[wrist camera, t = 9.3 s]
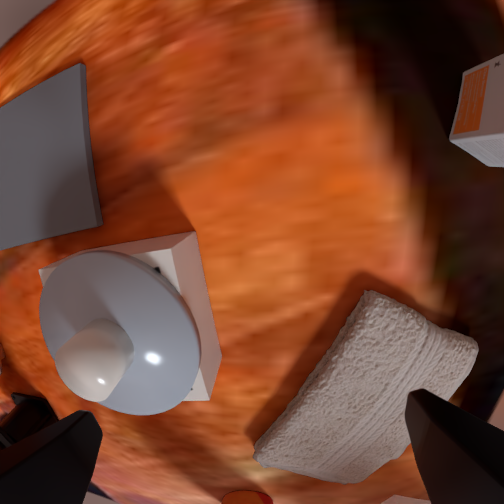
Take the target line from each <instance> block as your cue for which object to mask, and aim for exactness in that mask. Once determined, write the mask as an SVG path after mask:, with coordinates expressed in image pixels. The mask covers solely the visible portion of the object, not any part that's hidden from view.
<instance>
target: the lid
mask: <svg viewBox="0 0 504 504" xmlns="http://www.w3.org/2000/svg"><path fill="white" fill-rule="evenodd" d="M39 313H40V324H41V329H42V333H43V337H44V340H45V342H46V345H47V347H48V350H49V352H50V354H51V356H52V357H53V359H54V361H55V365H56V369H57V371H58V374H59V376H60V377H61V379H62V380H63V382H64V383H65V384H66V385H67V387H68V388H69V389H70V390H72V391H73V392H74V393H75V394H77V395H78V396H80V397H82V398H84V399H86V400H89V401H94V402H98V403H99V404H101V405H103V406H105V407H108V408H110V409H113V410H115V411H118V412H122V413H126V414H133V415H152V414H158V413H162V412H165V411H167V410H169V409H172V408H173V407H175V406H176V405H178V404H179V403H180V402H181V401H182V400H183V399H184V398H185V397H186V396H187V395H188V393H189V392H190V390H191V388H192V386H193V384H194V382H195V379H196V376H197V374H198V371H199V367H200V363H201V354H202V352H201V340H200V335H199V330H198V327H197V324H196V321H195V319H194V317H193V315H192V312H191V310H190V308H189V307H188V305H187V303H186V302H185V300H184V299H183V297H182V296H181V295H180V293H179V292H178V291H177V289H176V288H175V287H174V286H173V285H172V284H171V283H170V282H169V281H168V280H167V279H166V278H165V277H164V276H163V275H162V274H160V273H159V272H158V271H157V270H156V269H154V268H153V267H151V266H150V265H148V264H147V263H145V262H143V261H141V260H139V259H137V258H135V257H133V256H130V255H127V254H125V253H121V252H116V251H112V250H94V251H89V252H85V253H82V254H79V255H77V256H75V257H73V258H71V259H69V260H67V261H65V262H63V263H62V264H60V265H59V266H58V267H56V268H55V270H54V271H53V272H52V273H51V274H50V276H49V277H48V279H47V280H46V282H45V285H44V287H43V290H42V294H41V298H40V306H39Z"/></svg>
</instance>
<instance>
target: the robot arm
mask: <svg viewBox="0 0 504 504" xmlns="http://www.w3.org/2000/svg"><path fill="white" fill-rule="evenodd" d="M11 397H12V399H13V400H14V402H15V404H16V406H15V407H14V409H13V410H12V411H11V412H10V413H9V414H8V415H7V416H6V417H5V418H4V419H3V420H2V421H1V422H0V504H82V503H83V501H84V498H85V495H86V492H87V489H88V487H89V484H90V481H91V478H92V475H93V472H94V468H95V464H96V460H97V456H98V452H99V448H100V445H101V441H102V437H103V433H102V430H101V428H100V426H99V424H98V422H97V420H96V419H95V417H94V415H93V413H91V412H90V411H85V410H78V411H76V412H74V413H72V414H71V415H69V416H67V417H65V418H63V419H61V420H60V421H58V420H57V418H56V416H55V414H54V413H53V411H52V409H51V407H50V405H49V404H48V402H47V401H46V400H45V399H42V398H37V397H32V396H28V395H23V394H19V393H14V392H13V393H12V394H11ZM405 422H406V426H407V429H408V433H409V437H410V441H411V444H412V448H413V452H414V456H415V460H416V464H417V467H418V470H419V472H420V475H421V478H422V480H423V483H424V485H425V488H426V491H427V493H428V496H429V499H430V502H431V504H504V431H503V430H501V429H499V428H497V427H495V426H493V425H491V424H489V423H487V422H485V421H483V420H481V419H480V418H478V417H476V416H474V415H472V414H470V413H468V412H466V411H465V410H463V409H461V408H459V407H457V406H455V405H453V404H452V403H450V402H448V401H446V400H444V399H442V398H441V397H439V396H437V395H435V394H433V393H432V392H430V391H428V390H426V389H424V388H420V389H417V390H413V391H410V392H409V394H408V396H407V403H406V409H405Z"/></svg>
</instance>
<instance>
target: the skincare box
mask: <svg viewBox="0 0 504 504" xmlns="http://www.w3.org/2000/svg"><path fill="white" fill-rule="evenodd" d="M449 140H450V141H451V142H452V143H454V144H456V145H457V146H459V147H461V148H462V149H464V150H465V151H467V152H468V153H470V154H471V155H473V156H474V157H476V158H477V159H478V160H480V161H481V162H483V163H484V164H485V165H487V166H491V167H504V54H502V55H500V56H498V57H495V58H493V59H491V60H489V61H487V62H484V63H482V64H480V65H478V66H476V67H474V68H472V69H470V70H467V71H465V72H464V73H463V77H462V85H461V89H460V95H459V100H458V106H457V110H456V114H455V118H454V121H453V125H452V129H451V133H450V136H449Z"/></svg>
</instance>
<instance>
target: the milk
mask: <svg viewBox="0 0 504 504" xmlns="http://www.w3.org/2000/svg"><path fill="white" fill-rule="evenodd" d="M381 504H431V502H430V501H429V500H422V499H416V498H410V497H405V496H400V495H395V494H394V495H393V496H391V497H390V498H388V499H387V500H385V501H384V502H382V503H381Z"/></svg>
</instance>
